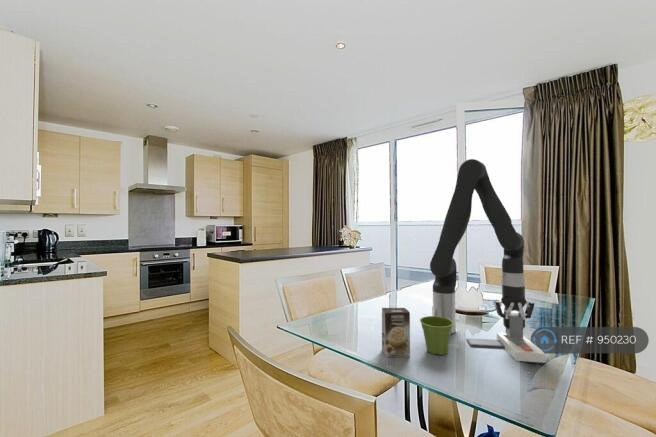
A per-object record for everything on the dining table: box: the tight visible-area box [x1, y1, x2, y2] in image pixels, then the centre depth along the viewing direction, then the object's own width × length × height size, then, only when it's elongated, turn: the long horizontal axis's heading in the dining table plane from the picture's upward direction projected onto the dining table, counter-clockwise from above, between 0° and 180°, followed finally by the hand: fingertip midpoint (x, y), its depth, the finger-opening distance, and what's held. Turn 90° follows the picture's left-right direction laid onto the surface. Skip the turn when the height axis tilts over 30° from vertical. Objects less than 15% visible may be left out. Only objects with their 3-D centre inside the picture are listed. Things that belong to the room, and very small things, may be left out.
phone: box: [466, 337, 505, 349], centre depth 117 cm, size 12×6×1 cm, turn 80°
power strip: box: [496, 332, 546, 364], centre depth 111 cm, size 9×18×4 cm, turn 169°
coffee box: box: [381, 307, 411, 358], centre depth 110 cm, size 9×6×16 cm
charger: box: [505, 312, 524, 338], centre depth 115 cm, size 4×4×8 cm
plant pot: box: [419, 315, 453, 356], centre depth 112 cm, size 12×12×11 cm
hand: (514, 328), depth 115 cm, fingers closed on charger, 4 cm apart
